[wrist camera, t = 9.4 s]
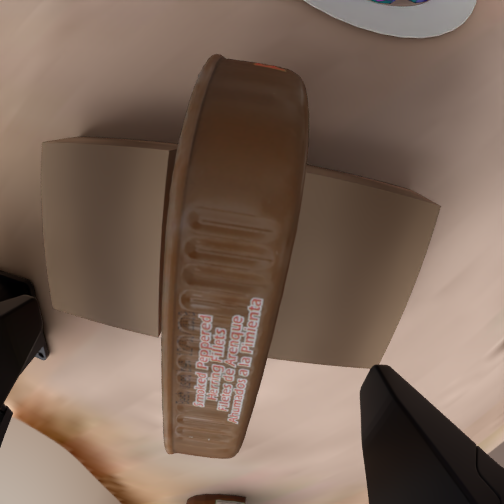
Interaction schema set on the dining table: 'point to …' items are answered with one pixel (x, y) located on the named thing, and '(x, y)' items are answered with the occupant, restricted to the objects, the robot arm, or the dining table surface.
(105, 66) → the dining table surface
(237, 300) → the tin
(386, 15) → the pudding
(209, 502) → the food container
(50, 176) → the slotted rail
